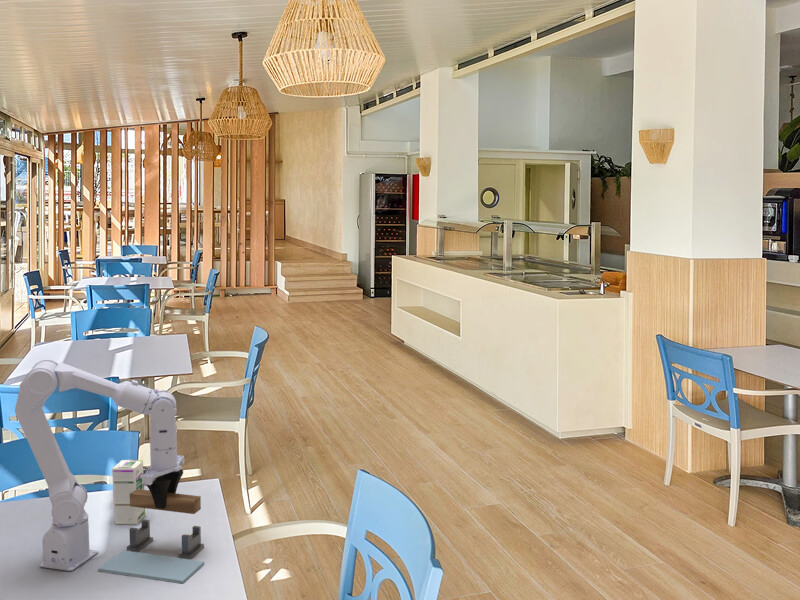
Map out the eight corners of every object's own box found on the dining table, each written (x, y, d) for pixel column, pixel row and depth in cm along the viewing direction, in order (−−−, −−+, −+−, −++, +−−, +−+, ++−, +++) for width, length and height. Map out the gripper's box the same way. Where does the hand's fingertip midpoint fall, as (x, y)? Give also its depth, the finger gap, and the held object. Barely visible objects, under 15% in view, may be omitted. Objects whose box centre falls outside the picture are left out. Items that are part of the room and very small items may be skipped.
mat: (183, 583, 159) (182, 580, 159) (98, 571, 164) (97, 568, 164) (204, 564, 168) (204, 561, 168) (122, 552, 172) (122, 550, 172)
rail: (194, 514, 170) (193, 501, 170) (129, 506, 174) (129, 493, 174) (200, 509, 173) (200, 496, 173) (137, 501, 177) (137, 488, 177)
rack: (190, 558, 170) (190, 537, 169) (126, 550, 174) (126, 528, 173) (204, 547, 176) (203, 526, 175) (141, 539, 180) (141, 518, 179)
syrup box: (137, 525, 188) (136, 467, 186) (113, 524, 188) (111, 466, 186) (145, 515, 193) (144, 459, 191) (122, 515, 193) (120, 459, 192)
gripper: (162, 458, 164) (163, 519, 166) (195, 438, 178) (196, 495, 180) (132, 455, 166) (134, 515, 167) (168, 436, 180) (169, 492, 181)
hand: (164, 504), depth 174 cm, fingers closed on rail, 3 cm apart
